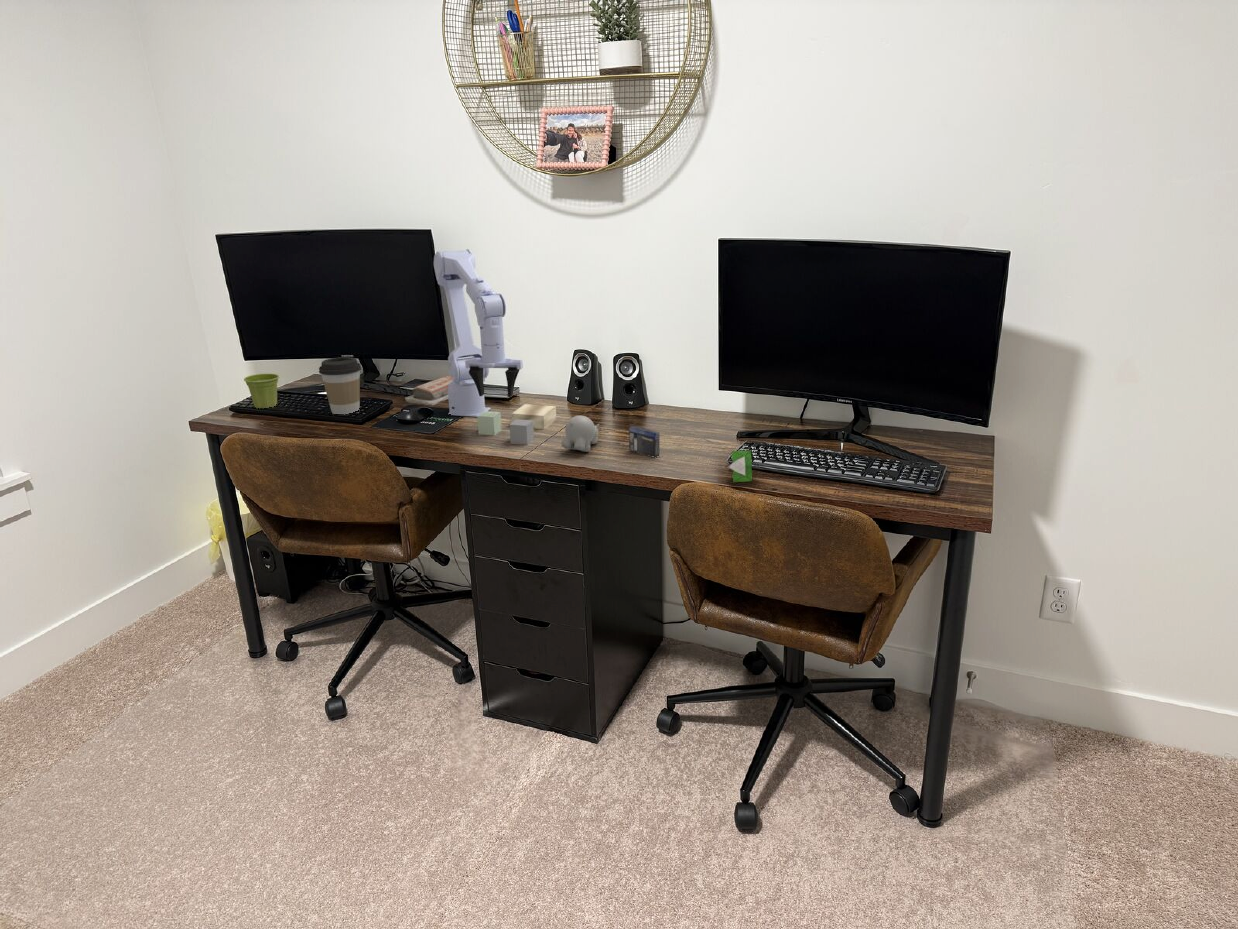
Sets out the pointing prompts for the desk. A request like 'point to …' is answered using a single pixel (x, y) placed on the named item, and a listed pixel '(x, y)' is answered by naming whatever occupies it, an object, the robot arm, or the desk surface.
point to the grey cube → (521, 432)
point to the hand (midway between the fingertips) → (496, 395)
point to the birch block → (536, 415)
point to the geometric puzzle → (741, 466)
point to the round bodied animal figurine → (580, 434)
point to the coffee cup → (342, 384)
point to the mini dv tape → (644, 441)
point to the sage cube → (489, 423)
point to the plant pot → (263, 389)
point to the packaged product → (431, 392)
